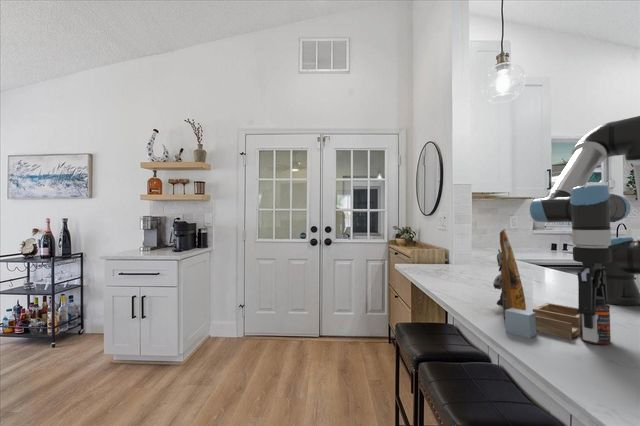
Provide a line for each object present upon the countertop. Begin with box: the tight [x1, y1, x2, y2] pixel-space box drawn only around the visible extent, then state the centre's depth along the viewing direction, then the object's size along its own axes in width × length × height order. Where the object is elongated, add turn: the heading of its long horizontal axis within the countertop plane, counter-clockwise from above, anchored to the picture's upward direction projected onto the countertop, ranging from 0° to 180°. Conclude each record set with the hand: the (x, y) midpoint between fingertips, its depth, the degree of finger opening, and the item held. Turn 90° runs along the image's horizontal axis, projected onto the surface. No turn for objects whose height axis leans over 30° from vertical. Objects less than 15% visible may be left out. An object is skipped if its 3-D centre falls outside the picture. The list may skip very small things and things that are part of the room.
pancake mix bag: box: [499, 228, 527, 319], centre depth 104 cm, size 7×19×28 cm, turn 141°
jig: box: [532, 302, 580, 340], centre depth 93 cm, size 18×12×4 cm, turn 126°
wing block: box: [504, 308, 537, 339], centre depth 88 cm, size 4×6×6 cm, turn 36°
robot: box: [492, 249, 503, 307], centre depth 117 cm, size 20×5×20 cm, turn 137°
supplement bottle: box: [579, 296, 611, 346], centre depth 81 cm, size 6×6×11 cm
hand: (594, 337), depth 81 cm, fingers open, 7 cm apart
